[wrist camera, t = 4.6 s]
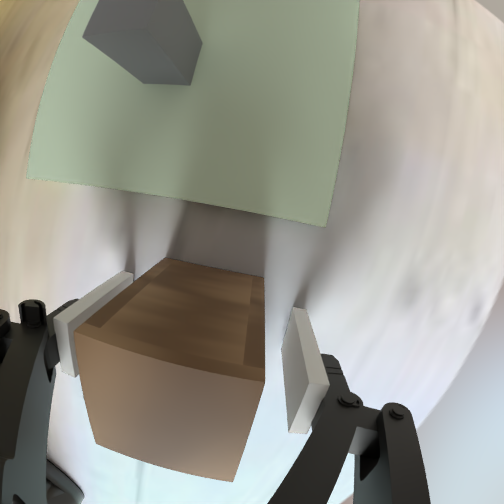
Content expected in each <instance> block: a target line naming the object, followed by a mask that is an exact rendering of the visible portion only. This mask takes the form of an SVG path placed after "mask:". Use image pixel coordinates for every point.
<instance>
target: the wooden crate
mask: <svg viewBox="0 0 504 504" xmlns="http://www.w3.org/2000/svg"><path fill="white" fill-rule="evenodd" d="M73 333H74V342H75V349H76V356H77V363H78V369H79V375H80V380H81V386H82V391H83V395H84V400H85V404H86V409H87V413H88V417H89V421H90V424H91V428H92V432H93V435H94V439H95V442H96V444H98V445H101V446H103V447H105V448H108V449H110V450H113V451H115V452H118V453H121V454H123V455H126V456H129V457H132V458H135V459H138V460H141V461H144V462H147V463H150V464H153V465H157V466H160V467H163V468H167V469H171V470H175V471H179V472H183V473H187V474H191V475H196V476H201V477H205V478H211V479H216V480H222V481H229V482H233V480H234V477H235V475H236V472H237V469H238V466H239V463H240V460H241V457H242V454H243V451H244V448H245V445H246V442H247V439H248V436H249V433H250V430H251V427H252V424H253V420H254V417H255V414H256V411H257V408H258V404H259V401H260V398H261V395H262V391H263V388H264V384H265V300H264V278H263V277H257V276H252V275H247V274H242V273H237V272H232V271H227V270H222V269H217V268H212V267H207V266H203V265H198V264H193V263H188V262H183V261H179V260H174V259H169V258H164V259H163V260H161V261H160V262H159V263H157V264H156V265H155V266H153V267H152V268H151V269H150V270H148V271H147V272H146V273H144V274H143V275H142V276H141V277H139V278H138V279H137V280H135V281H134V282H133V283H132V284H130V285H129V286H128V287H127V288H125V289H124V290H123V291H121V292H120V293H119V294H118V295H116V296H115V297H114V298H113V299H111V300H110V301H109V302H108V303H107V304H105V305H104V306H103V307H102V308H100V309H99V310H98V311H97V312H96V313H94V314H93V315H92V316H91V317H90V318H88V319H87V320H86V321H85V322H84V323H82V324H81V325H80V326H79V327H78V328H76V329H75V330H74V331H73Z"/></svg>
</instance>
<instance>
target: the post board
mask: <svg viewBox="0 0 504 504" xmlns="http://www.w3.org/2000/svg"><path fill="white" fill-rule="evenodd" d="M359 2H360V0H80V1H79V3H78V5H77V7H76V9H75V11H74V13H73V15H72V17H71V19H70V21H69V23H68V26H67V28H66V30H65V32H64V35H63V37H62V39H61V42H60V44H59V47H58V49H57V52H56V54H55V57H54V60H53V63H52V65H51V68H50V71H49V74H48V77H47V80H46V84H45V87H44V90H43V94H42V97H41V101H40V105H39V109H38V113H37V117H36V122H35V126H34V131H33V136H32V142H31V147H30V153H29V160H28V167H27V175H26V178H28V179H37V180H46V181H55V182H64V183H72V184H80V185H88V186H95V187H103V188H110V189H117V190H124V191H130V192H137V193H144V194H150V195H156V196H163V197H169V198H175V199H181V200H187V201H192V202H198V203H204V204H209V205H215V206H220V207H226V208H231V209H236V210H242V211H247V212H252V213H257V214H262V215H267V216H272V217H277V218H282V219H287V220H292V221H296V222H301V223H306V224H310V225H315V226H319V227H324V228H326V224H327V219H328V215H329V210H330V206H331V201H332V196H333V191H334V187H335V182H336V176H337V171H338V166H339V161H340V155H341V150H342V144H343V138H344V132H345V126H346V120H347V113H348V107H349V100H350V93H351V85H352V77H353V69H354V60H355V51H356V41H357V30H358V17H359Z"/></svg>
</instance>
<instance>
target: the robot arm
mask: <svg viewBox="0 0 504 504" xmlns="http://www.w3.org/2000/svg"><path fill="white" fill-rule="evenodd" d="M133 275H134V274H133V273H129V272H125V271H121V272H120V273H118V274H117V275H115V276H113V277H112V278H110V279H109V280H107V281H106V282H104V283H103V284H101V285H100V286H98V287H97V288H95V289H94V290H92V291H91V292H89V293H88V294H87V295H85V296H84V297H82V298H81V299H74V300H71V301H68V302H66V303H65V304H63V305H62V306H60V307H59V308H58V309H57V310H55V311H53V312H52V313H50V314H49V315H47V316H46V308H45V304H44V303H43V302H42V301H40V300H25V301H23V302H21V303H20V304H19V305H18V307H19V313H20V319H21V324H19V323H14V322H10V316H9V313H8V312H7V311H5V310H1V309H0V504H81V503H82V501H83V499H84V495H83V493H82V492H81V490H80V489H79V488H78V487H77V486H76V485H75V484H74V483H73V482H72V481H71V480H70V479H69V478H68V477H67V476H66V475H65V474H63V473H62V472H61V471H60V470H59V469H58V468H56V467H55V466H54V465H53V464H51V463H50V462H49V461H48V460H46V453H47V438H48V427H49V417H50V409H51V402H52V395H53V389H54V383H55V378H56V368H55V365H56V364H57V363H58V362H59V361H60V365H61V370H62V372H64V373H66V374H68V375H70V376H72V377H76V376H77V375H78V374H79V369H78V363H77V356H76V349H75V342H74V333H73V331H74V330H75V329H76V328H78V327H79V326H80V325H81V324H82V323H84V322H85V321H86V320H87V319H88V318H90V317H91V316H92V315H93V314H94V313H96V312H97V311H98V310H99V309H100V308H102V307H103V306H104V305H105V304H107V303H108V302H109V301H110V300H111V299H113V298H114V297H115V296H116V295H118V294H119V293H120V292H121V291H123V290H124V289H125V288H127V287H128V286H129V285H130V284H132V283H133ZM281 352H282V363H283V374H284V385H285V396H286V408H287V421H288V433H300V434H307V433H308V431H309V429H310V427H311V426H312V433H311V435H310V437H309V439H308V440H307V442H306V444H305V446H304V447H303V449H302V451H301V452H300V454H299V456H298V457H297V459H296V461H295V462H294V464H293V466H292V467H291V469H290V471H289V472H288V474H287V475H286V477H285V478H284V480H283V481H282V483H281V485H280V486H279V488H278V489H277V490H276V492H275V493H274V495H273V496H272V498H271V499H270V501H269V502H268V503H267V504H327V502H328V500H329V497H330V495H331V493H332V491H333V488H334V486H335V484H336V482H337V479H338V477H339V474H340V472H341V469H342V467H343V464H344V462H345V459H346V456H347V454H348V453H351V454H355V470H354V498H353V504H431V503H430V496H429V490H428V485H427V479H426V473H425V468H424V463H423V459H422V454H421V450H420V445H419V441H418V437H417V433H416V429H415V425H414V421H413V417H412V414H411V412H410V410H408V409H407V408H406V407H405V406H403V405H401V404H398V403H387V404H385V405H384V406H383V408H382V409H381V410H377V409H372V408H368V407H365V406H363V402H362V400H361V398H360V397H358V396H357V395H356V394H354V393H352V392H350V390H349V387H348V385H347V382H346V379H345V377H344V375H343V372H342V370H341V366H340V364H339V361H338V360H337V359H336V358H335V357H334V356H333V355H328V354H320V351H319V348H318V345H317V341H316V338H315V335H314V332H313V329H312V326H311V323H310V320H309V316H308V313H307V310H306V309H301V308H295V307H293V308H292V312H291V316H290V319H289V323H288V327H287V330H286V334H285V337H284V341H283V344H282V348H281Z"/></svg>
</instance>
